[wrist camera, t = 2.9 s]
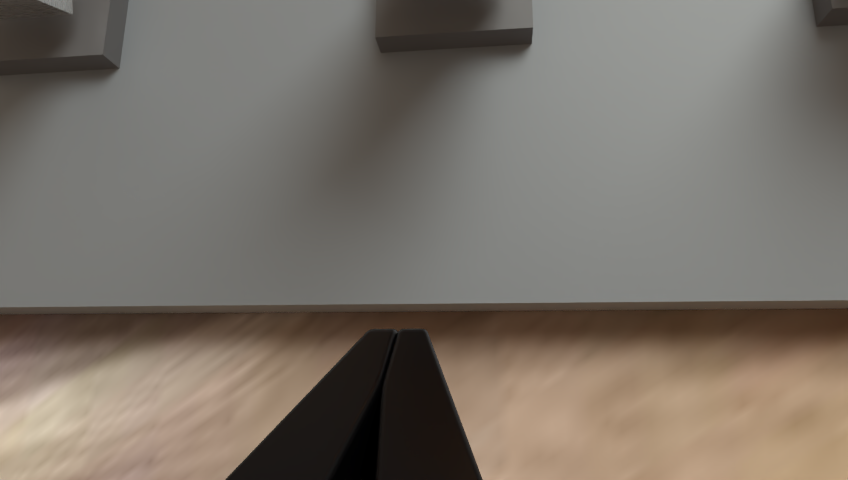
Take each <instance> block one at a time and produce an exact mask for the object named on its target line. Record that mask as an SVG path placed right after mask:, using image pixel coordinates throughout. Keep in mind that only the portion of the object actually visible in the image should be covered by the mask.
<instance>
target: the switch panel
mask: <svg viewBox="0 0 848 480" xmlns="http://www.w3.org/2000/svg"><path fill="white" fill-rule="evenodd" d="M72 5H73V15H61V16H47V17H33V18H19V19H5V20H0V314H116V313H265V312H414V311H563V310H713V309H848V0H72Z"/></svg>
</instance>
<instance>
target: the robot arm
mask: <svg viewBox="0 0 848 480" xmlns="http://www.w3.org/2000/svg"><path fill="white" fill-rule="evenodd" d="M226 480H483V479H482V477H481V474H480V471H479V469H478V466H477V463H476V461H475V458H474V455H473V453H472V450H471V447H470V445H469V442H468V439H467V437H466V434H465V431H464V429H463V426H462V423H461V420H460V418H459V415H458V412H457V410H456V407H455V404H454V402H453V399H452V396H451V394H450V391H449V388H448V386H447V383H446V380H445V378H444V375H443V372H442V369H441V367H440V364H439V361H438V359H437V356H436V353H435V351H434V348H433V345H432V343H431V340H430V337H429V335H428V332H427V331H426V330H425V329H401V330H400V331H399V332H397V331H396V330H395V329H371V330H369V331H368V332H366V333H365V334H364V336H363V337H362V338H361V339H360V340H359V341H358V342H357V343H356V344H355V345H354V346H353V347H352V348H351V349H350V350H349V351H348V352H347V353H346V354H345V355H344V356H343V357H342V358H341V360H340V361H339V362H338V363H337V364H336V365H335V366H334V367H333V368H332V369H331V370H330V371H329V372H328V373H327V374H326V375H325V376H324V377H323V378H322V379H321V380H320V381H319V382H318V384H317V385H316V386H315V387H314V388H313V389H312V390H311V391H310V392H309V393H308V394H307V395H306V396H305V397H304V398H303V399H302V400H301V401H300V402H299V403H298V404H297V405H296V406H295V408H294V409H293V410H292V411H291V412H290V413H289V414H288V415H287V416H286V417H285V418H284V419H283V420H282V421H281V422H280V423H279V424H278V425H277V426H276V427H275V428H274V429H273V430H272V432H271V433H270V434H269V435H268V436H267V437H266V438H265V439H264V440H263V441H262V442H261V443H260V444H259V445H258V446H257V447H256V448H255V449H254V450H253V451H252V452H251V453H250V454H249V456H248V457H247V458H246V459H245V460H244V461H243V462H242V463H241V464H240V465H239V466H238V467H237V468H236V469H235V470H234V471H233V472H232V473H231V474H230V475H229V476H228V477H227V478H226Z"/></svg>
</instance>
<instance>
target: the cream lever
mask: <svg viewBox="0 0 848 480" xmlns="http://www.w3.org/2000/svg"><path fill="white" fill-rule="evenodd" d="M61 15H73V5H72V0H0V20H5V19H19V18H33V17H47V16H61Z"/></svg>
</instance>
